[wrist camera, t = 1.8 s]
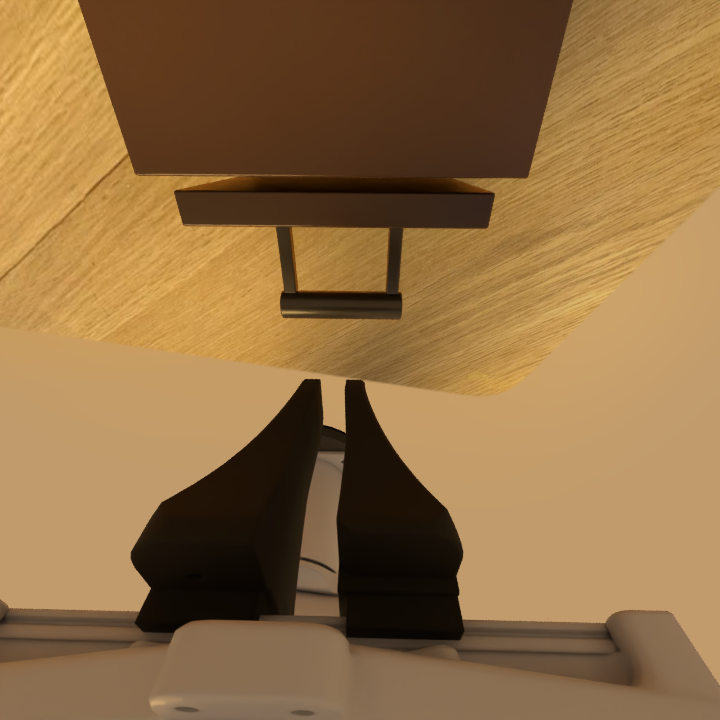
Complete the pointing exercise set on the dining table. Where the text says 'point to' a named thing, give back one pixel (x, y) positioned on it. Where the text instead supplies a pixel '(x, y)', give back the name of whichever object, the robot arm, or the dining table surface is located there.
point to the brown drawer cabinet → (329, 85)
